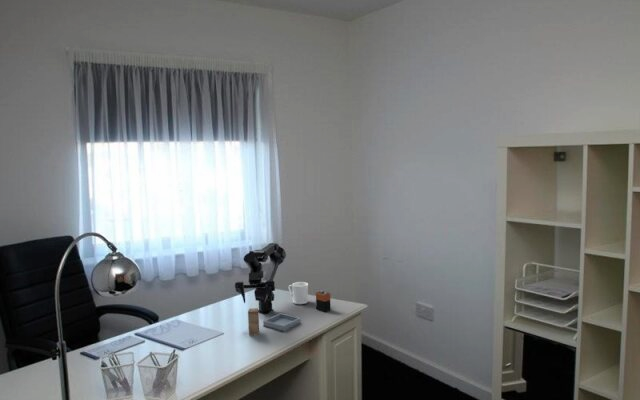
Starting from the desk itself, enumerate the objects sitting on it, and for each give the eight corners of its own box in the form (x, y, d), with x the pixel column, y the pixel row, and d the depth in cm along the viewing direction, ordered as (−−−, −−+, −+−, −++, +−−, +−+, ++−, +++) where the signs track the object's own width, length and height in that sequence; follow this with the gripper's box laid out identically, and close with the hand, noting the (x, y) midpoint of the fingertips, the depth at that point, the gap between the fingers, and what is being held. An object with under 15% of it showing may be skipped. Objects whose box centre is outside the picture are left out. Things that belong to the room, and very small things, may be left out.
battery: (321, 307, 247) (321, 288, 245) (331, 310, 242) (330, 291, 241) (315, 309, 244) (315, 290, 242) (325, 312, 239) (324, 293, 238)
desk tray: (263, 326, 223) (263, 321, 222) (280, 317, 233) (280, 313, 232) (283, 331, 215) (283, 326, 215) (300, 323, 225) (300, 318, 225)
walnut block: (250, 331, 216) (249, 308, 215) (259, 331, 216) (258, 308, 215) (249, 335, 212) (248, 311, 211) (258, 334, 212) (257, 311, 211)
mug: (309, 300, 259) (309, 281, 257) (307, 305, 250) (307, 286, 249) (290, 299, 260) (289, 281, 259) (287, 305, 251) (286, 286, 250)
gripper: (234, 265, 222) (231, 295, 212) (273, 264, 222) (273, 294, 213) (237, 277, 231) (235, 306, 221) (275, 275, 231) (274, 304, 221)
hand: (254, 302), depth 219 cm, fingers open, 9 cm apart
